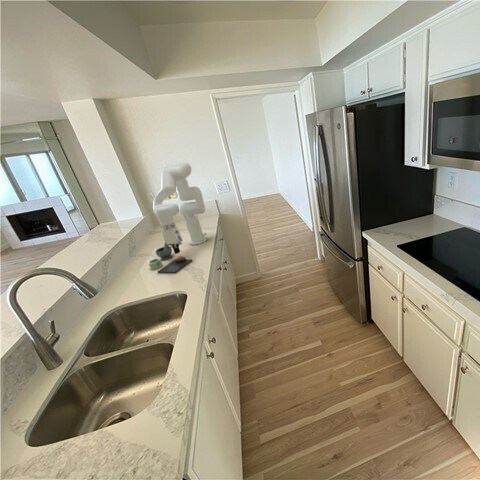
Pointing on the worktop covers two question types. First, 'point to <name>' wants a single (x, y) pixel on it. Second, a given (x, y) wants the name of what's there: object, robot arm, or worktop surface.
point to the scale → (175, 266)
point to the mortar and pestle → (164, 252)
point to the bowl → (155, 264)
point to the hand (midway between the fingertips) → (177, 252)
